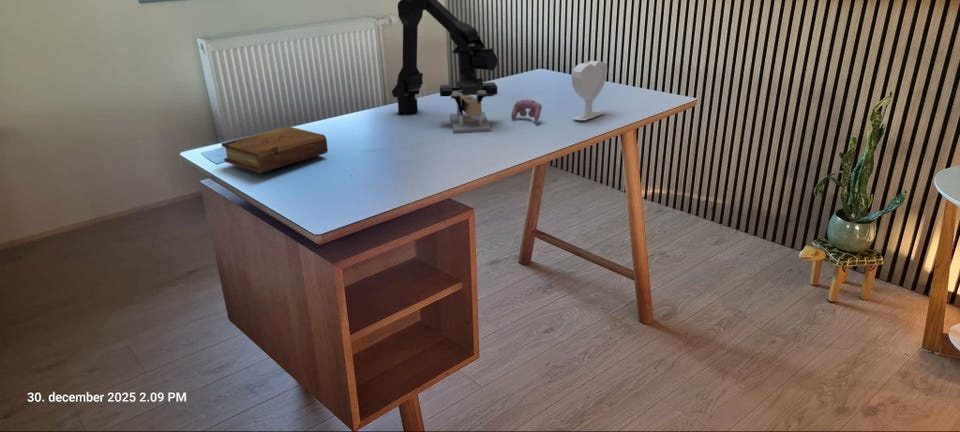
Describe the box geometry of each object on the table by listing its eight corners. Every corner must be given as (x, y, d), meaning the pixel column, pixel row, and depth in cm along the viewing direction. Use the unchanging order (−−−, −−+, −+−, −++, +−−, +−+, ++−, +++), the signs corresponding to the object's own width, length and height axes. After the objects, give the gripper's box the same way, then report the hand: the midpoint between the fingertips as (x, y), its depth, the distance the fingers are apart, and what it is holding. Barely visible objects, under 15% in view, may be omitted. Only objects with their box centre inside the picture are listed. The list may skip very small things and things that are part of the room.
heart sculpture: (581, 121, 223) (582, 66, 216) (569, 119, 226) (570, 65, 219) (607, 112, 233) (609, 59, 226) (595, 110, 236) (597, 58, 229)
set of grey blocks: (459, 126, 218) (459, 115, 217) (457, 116, 230) (456, 106, 229) (482, 125, 219) (482, 114, 217) (479, 115, 231) (478, 105, 229)
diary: (261, 174, 184) (258, 154, 182) (224, 162, 195) (221, 143, 193) (328, 153, 200) (325, 134, 198) (290, 143, 211) (288, 125, 209)
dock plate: (453, 133, 214) (453, 130, 214) (450, 116, 234) (450, 113, 234) (490, 131, 215) (490, 127, 215) (484, 114, 235) (484, 111, 235)
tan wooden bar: (469, 116, 215) (469, 104, 214) (457, 105, 230) (456, 93, 228) (481, 115, 216) (481, 102, 215) (468, 104, 231) (468, 92, 229)
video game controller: (541, 122, 226) (543, 101, 225) (537, 121, 222) (539, 100, 221) (514, 119, 230) (516, 99, 229) (509, 119, 226) (511, 98, 225)
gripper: (439, 73, 209) (442, 122, 215) (498, 71, 211) (499, 119, 217) (438, 67, 220) (440, 114, 226) (494, 64, 221) (495, 111, 227)
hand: (469, 115), depth 224 cm, fingers closed on tan wooden bar, 4 cm apart
